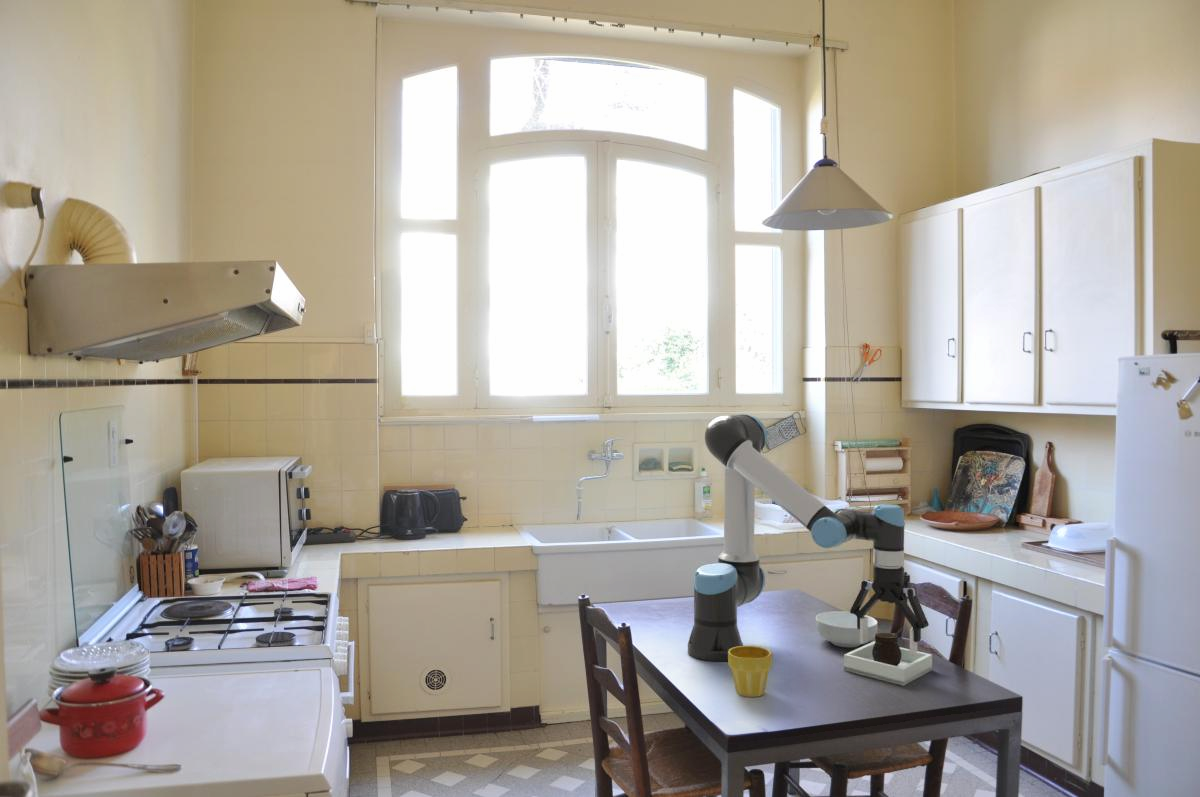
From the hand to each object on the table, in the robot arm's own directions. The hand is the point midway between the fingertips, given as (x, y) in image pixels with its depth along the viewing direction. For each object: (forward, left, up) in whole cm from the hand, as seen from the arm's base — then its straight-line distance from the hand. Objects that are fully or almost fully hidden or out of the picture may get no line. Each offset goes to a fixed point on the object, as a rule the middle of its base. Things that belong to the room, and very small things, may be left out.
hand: (888, 648), depth 219 cm
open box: (0, 0, -6) cm, 6 cm away
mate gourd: (0, 0, -5) cm, 5 cm away
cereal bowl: (+13, +19, -6) cm, 24 cm away
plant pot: (-38, +16, -6) cm, 42 cm away
